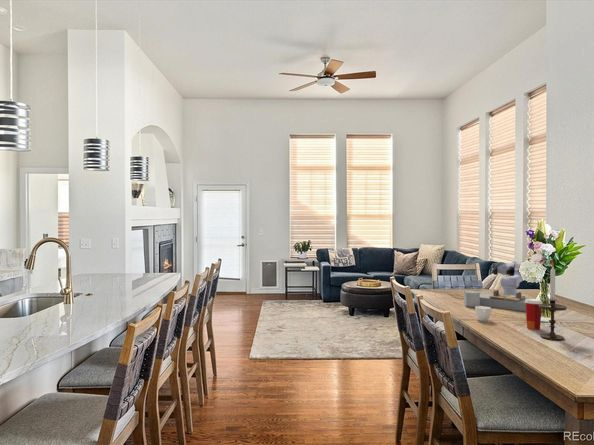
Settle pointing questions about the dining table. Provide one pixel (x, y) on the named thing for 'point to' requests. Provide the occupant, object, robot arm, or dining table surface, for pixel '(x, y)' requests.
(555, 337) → the candlestick
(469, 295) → the medicine box
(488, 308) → the cup
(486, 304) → the lid box
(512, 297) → the ash panel
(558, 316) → the dining table surface
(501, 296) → the wooden sliding lid
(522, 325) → the dining table surface
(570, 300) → the dining table surface
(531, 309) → the paper cup
